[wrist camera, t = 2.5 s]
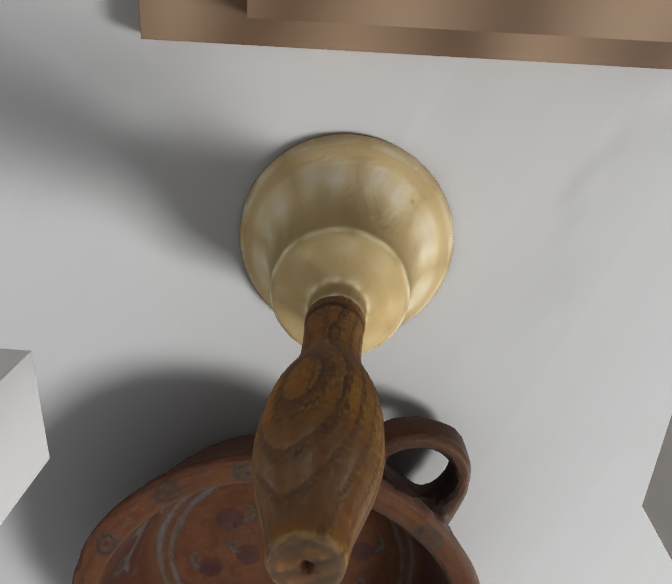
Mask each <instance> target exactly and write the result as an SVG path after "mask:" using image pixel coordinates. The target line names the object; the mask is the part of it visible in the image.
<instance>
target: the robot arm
mask: <svg viewBox="0 0 672 584" xmlns="http://www.w3.org/2000/svg"><path fill="white" fill-rule="evenodd" d="M49 459H50V457H49V451H48V446H47V440H46V434H45V428H44V422H43V416H42V410H41V404H40V399H39V393H38V387H37V381H36V375H35V369H34V363H33V357H32V352H31V351H25V350H12V349H0V525H1V524H2V522H3V521H4V519H5V518H6V517H7V515H8V514H9V513H10V511H11V510H12V509H13V507H14V506H15V505H16V503H17V502H18V501H19V499H20V498H21V496H22V495H23V494H24V492H25V491H26V490H27V488H28V487H29V486H30V484H31V483H32V482H33V480H34V479H35V478H36V476H37V475H38V473H39V472H40V471H41V469H42V468H43V467H44V465H45V464H46V463H47V461H48V460H49ZM642 506H643V508H644V510H645V512H646V514H647V516H648V517H649V519H650V521H651V523H652V525H653V526H654V528H655V530H656V532H657V534H658V536H659V537H660V539H661V541H662V543H663V545H664V547H665V548H666V550H667V552H668V554H669V556H670V557H671V559H672V416H671V419H670V422H669V425H668V428H667V432H666V435H665V438H664V441H663V444H662V447H661V450H660V453H659V456H658V459H657V462H656V465H655V468H654V471H653V474H652V477H651V480H650V483H649V486H648V489H647V493H646V496H645V499H644V502H643V505H642Z"/></svg>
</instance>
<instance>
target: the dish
mask: <svg viewBox="0 0 672 584" xmlns="http://www.w3.org/2000/svg"><path fill="white" fill-rule="evenodd" d="M255 436H256V434H254V435H248V436H243V437H238V438H235V439H231V440H228V441H224V442H221V443H218V444H215V445H213V446H211V447H208V448H206V449H203V450H201V451H199V452H197V453H196V454H194V455H192V456H190V457H188V458H187V459H185V460H184V461H182V462H181V463H180V464H178V465H177V466H175V467H174V468H173V469H171V470H170V471H169V472H167V473H165V474H163V475H160V476H158V477H156V478H155V479H153V480H151V481H150V482H148V483H147V484H145V485H144V486H142V487H141V488H140V489H138V490H137V491H135V492H134V493H132V494H131V495H130V496H128V497H127V498H126V499H124V500H123V501H121V502H120V503H119V504H118V505H116V506H115V507H114V508H113V509H112V510H111V511H110V512H109V513H108V514H107V515H106V516H105V517H104V518H103V519H102V520H101V522H100V523H99V524H98V525H97V526H96V528H95V529H94V530H93V532H92V533H91V535H90V536H89V538H88V539H87V541H86V543H85V544H84V547H83V549H82V551H81V555H80V559H79V562H78V564H77V567H76V569H75V572H74V576H73V582H72V584H276V583H274V582H273V580H272V579H271V577H270V575H269V574H268V572H267V571H266V567H265V563H264V539H263V531H262V527H261V523H260V519H259V514H258V510H257V505H256V501H255V495H254V486H253V476H252V454H253V447H254V439H255ZM384 438H385V465H384V471H383V476H382V480H381V484H380V487H379V491H378V493H377V496H376V499H375V502H374V504H373V507H372V509H371V511H370V513H369V515H368V517H367V519H366V521H365V523H364V525H363V527H362V529H361V532H360V534H359V536H358V538H357V540H356V542H355V544H354V546H353V549H352V552H351V555H350V558H349V562H348V565H347V569H346V572H345V574H344V576H343V578H342V581H341V582H340V583H339V584H480V583H479V580H478V577H477V574H476V572H475V569H474V567H473V565H472V563H471V561H470V559H469V558H468V556H467V554H466V553H465V551H464V550H463V548H462V547H461V545H460V544H459V542H458V541H457V539H456V538H455V536H454V535H453V533H452V531H451V529H450V527H449V526H448V524H449V522H450V521H451V519H452V518H453V516H454V515H455V513H456V511H457V510H458V508H459V506H460V504H461V503H462V501H463V499H464V497H465V495H466V493H467V490H468V485H469V481H470V474H471V466H470V460H469V457H468V453H467V450H466V447H465V444H464V442H463V439H462V437H461V436H460V434H459V433H458V432H457V431H456V430H455V429H454V428H453V427H451V426H449V425H447V424H444V423H442V422H439V421H435V420H431V419H426V418H422V417H410V418H407V417H402V418H393V419H390V420H387V421H385V422H384ZM415 448H427V449H433V450H435V451H438V452H440V453H441V454H443V455H444V456H445V457H446V458H447V459H448V460H449V463H448V465H447V467H446V469H445V470H444V471H443V472H442V474H441V475H440V476H439V477H438V478H436V479H435V480H433V481H432V482H431V483H427V484H424V485H419V484H415V483H413V482H411V481H410V480H408V479H407V478H405V477H404V476H402V475H401V474H400V473H398V472H397V471H396V470H394V469H393V468H392V467H390V466H389V465H388V464H386V460H387V458H388V457H389V456H390V455H392V454H394V453H396V452H398V451H401V450H406V449H415Z"/></svg>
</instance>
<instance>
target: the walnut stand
mask: <svg viewBox="0 0 672 584" xmlns="http://www.w3.org/2000/svg"><path fill="white" fill-rule="evenodd" d="M139 14H140V29H141V39H154V40H171V41H189V42H206V43H223V44H241V45H258V46H275V47H293V48H310V49H327V50H345V51H362V52H379V53H397V54H414V55H432V56H449V57H466V58H484V59H501V60H518V61H536V62H553V63H570V64H588V65H605V66H622V67H640V68H657V69H672V0H139Z"/></svg>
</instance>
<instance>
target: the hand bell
mask: <svg viewBox="0 0 672 584" xmlns="http://www.w3.org/2000/svg"><path fill="white" fill-rule="evenodd" d="M453 247H454V228H453V221H452V216H451V211H450V208H449V205H448V202H447V200H446V197H445V195H444V193H443V191H442V190H441V188H440V186H439V184H438V183H437V181H436V180H435V178H434V177H433V176H432V174H431V173H430V172H429V171H428V169H427V168H426V167H425V166H423V165H422V164H421V163H420V162H419V161H418V160H417V159H416V158H415V157H413V156H412V155H410V154H409V153H407V152H406V151H404V150H403V149H401V148H399V147H397V146H395V145H393V144H391V143H389V142H386V141H384V140H381V139H377V138H373V137H369V136H364V135H355V134H334V135H326V136H322V137H318V138H313V139H311V140H308V141H305V142H303V143H300V144H298V145H296V146H294V147H293V148H291V149H289V150H287V151H286V152H285V153H283V154H282V155H280V156H279V157H278V158H277V159H275V160H274V161H273V162H272V163H270V164H269V166H268V167H267V168H266V169H265V170H264V171H263V172H262V174H261V175H260V176H259V177H258V179H257V180H256V181H255V183H254V184H253V186H252V188H251V190H250V193H249V195H248V197H247V200H246V202H245V205H244V208H243V212H242V217H241V224H240V248H241V254H242V258H243V262H244V265H245V268H246V271H247V273H248V276H249V278H250V280H251V282H252V283H253V285H254V287H255V288H256V290H257V291H258V293H259V294H260V296H261V297H262V298H263V299H264V301H265V302H266V303H267V304H268V305H269V306H270V307H271V308H272V309H273V311H274V313H275V315H276V318H277V320H278V322H279V323H280V324H281V326H282V327H283V328H284V330H285V331H286V332H287V333H288V334H289V336H290V337H291V338H293V339H294V340H295V341H296V342H298V343H299V344H301V345H302V350H301V354H300V356H299V357H298V358H297V359H296V360H295V361H294V362H293V363H292V364H291V365H290V366H289V367H288V368H287V369H286V370H285V371H284V372H283V373H282V375H281V376H280V378H279V380H278V381H277V383H276V385H275V386H274V388H273V390H272V392H271V394H270V396H269V398H268V400H267V403H266V405H265V407H264V410H263V412H262V415H261V418H260V421H259V425H258V428H257V432H256V436H255V439H254V447H253V454H252V476H253V486H254V495H255V501H256V505H257V510H258V514H259V519H260V523H261V527H262V531H263V539H264V563H265V567H266V571H267V572H268V574H269V575H270V577H271V579H272V580H273V582H274V583H276V584H339V583H340V582H341V581H342V578H343V576H344V574H345V572H346V569H347V565H348V562H349V558H350V555H351V552H352V549H353V546H354V544H355V542H356V540H357V538H358V536H359V534H360V532H361V529H362V527H363V525H364V523H365V521H366V519H367V517H368V515H369V513H370V511H371V509H372V507H373V504H374V502H375V499H376V496H377V493H378V491H379V487H380V484H381V480H382V476H383V471H384V465H385V438H384V421H383V415H382V410H381V405H380V401H379V398H378V395H377V392H376V389H375V387H374V385H373V383H372V381H371V379H370V377H369V375H368V373H367V372H366V370H365V369H364V367H363V366H362V364H361V353H365V352H367V351H370V350H372V349H374V348H376V347H378V346H380V345H381V344H382V343H384V342H385V341H386V340H387V339H389V338H390V337H391V336H392V335H393V334H394V333H395V331H396V330H397V329H398V328H399V327H400V325H402V324H403V323H405V322H406V321H408V320H409V319H411V318H412V317H414V316H415V315H416V314H417V313H419V312H420V311H421V310H422V309H423V308H424V307H425V306H426V305H427V304H428V303H429V302H430V301H431V299H432V298H433V297H434V295H435V294H436V293H437V291H438V290H439V288H440V287H441V285H442V283H443V281H444V279H445V276H446V274H447V272H448V269H449V266H450V262H451V258H452V254H453Z"/></svg>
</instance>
